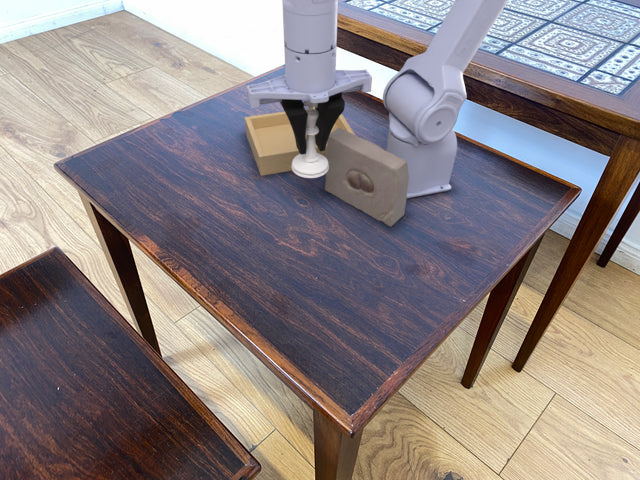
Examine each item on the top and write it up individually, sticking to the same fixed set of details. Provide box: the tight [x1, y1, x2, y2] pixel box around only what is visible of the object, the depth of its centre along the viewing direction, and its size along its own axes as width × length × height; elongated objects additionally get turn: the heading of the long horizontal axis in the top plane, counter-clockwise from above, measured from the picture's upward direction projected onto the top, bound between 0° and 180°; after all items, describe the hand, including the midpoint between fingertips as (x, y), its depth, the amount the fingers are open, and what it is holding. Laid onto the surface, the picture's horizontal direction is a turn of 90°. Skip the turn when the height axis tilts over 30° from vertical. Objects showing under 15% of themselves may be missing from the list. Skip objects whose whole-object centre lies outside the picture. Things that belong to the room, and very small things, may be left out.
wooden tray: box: [244, 107, 356, 177], centre depth 80 cm, size 16×12×4 cm
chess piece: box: [291, 100, 329, 179], centre depth 62 cm, size 5×5×10 cm
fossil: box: [324, 128, 409, 228], centre depth 68 cm, size 12×4×10 cm, turn 49°
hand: (310, 148), depth 64 cm, fingers closed on chess piece
